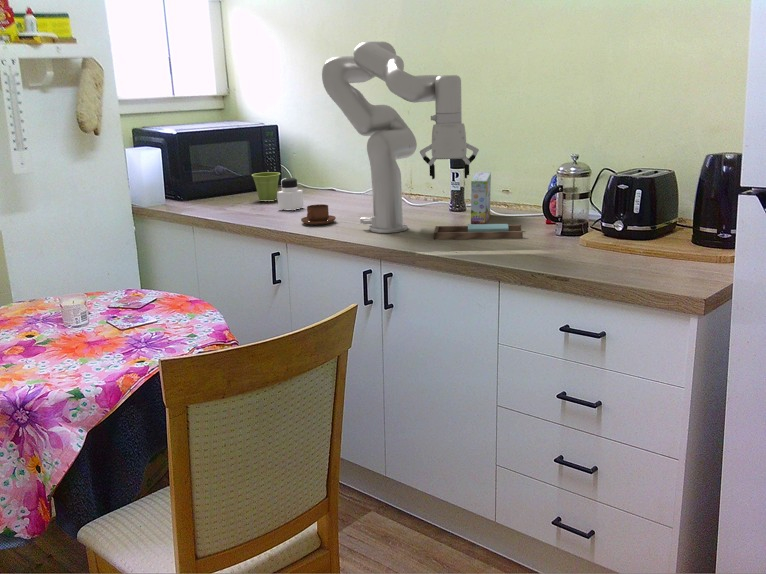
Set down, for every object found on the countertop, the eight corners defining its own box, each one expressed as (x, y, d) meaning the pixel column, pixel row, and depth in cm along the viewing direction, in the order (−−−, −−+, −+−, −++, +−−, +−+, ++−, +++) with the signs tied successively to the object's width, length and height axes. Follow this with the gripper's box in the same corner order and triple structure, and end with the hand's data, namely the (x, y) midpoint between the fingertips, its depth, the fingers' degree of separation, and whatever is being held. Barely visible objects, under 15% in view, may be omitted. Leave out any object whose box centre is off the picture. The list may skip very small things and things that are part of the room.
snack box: (487, 227, 240) (487, 180, 236) (470, 227, 241) (469, 180, 237) (491, 214, 260) (491, 171, 256) (475, 214, 261) (475, 171, 257)
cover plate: (467, 237, 222) (467, 229, 221) (468, 232, 228) (468, 224, 228) (508, 236, 220) (508, 228, 220) (507, 231, 227) (507, 223, 226)
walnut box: (434, 242, 222) (433, 233, 221) (436, 235, 232) (435, 226, 231) (522, 241, 218) (522, 231, 218) (520, 233, 228) (520, 224, 227)
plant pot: (250, 203, 306) (247, 176, 303) (259, 198, 317) (256, 172, 314) (277, 203, 304) (275, 175, 301) (286, 198, 315) (283, 171, 312)
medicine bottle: (304, 208, 290) (301, 177, 286) (292, 211, 284) (290, 180, 281) (289, 207, 293) (287, 176, 290) (278, 210, 288) (275, 179, 284)
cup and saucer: (330, 227, 252) (329, 209, 250) (296, 227, 255) (295, 209, 253) (339, 220, 263) (338, 203, 262) (307, 220, 266) (306, 203, 264)
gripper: (418, 121, 214) (419, 180, 219) (478, 119, 212) (479, 179, 217) (419, 119, 221) (421, 177, 226) (478, 117, 219) (478, 175, 224)
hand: (449, 178), depth 221 cm, fingers open, 9 cm apart
